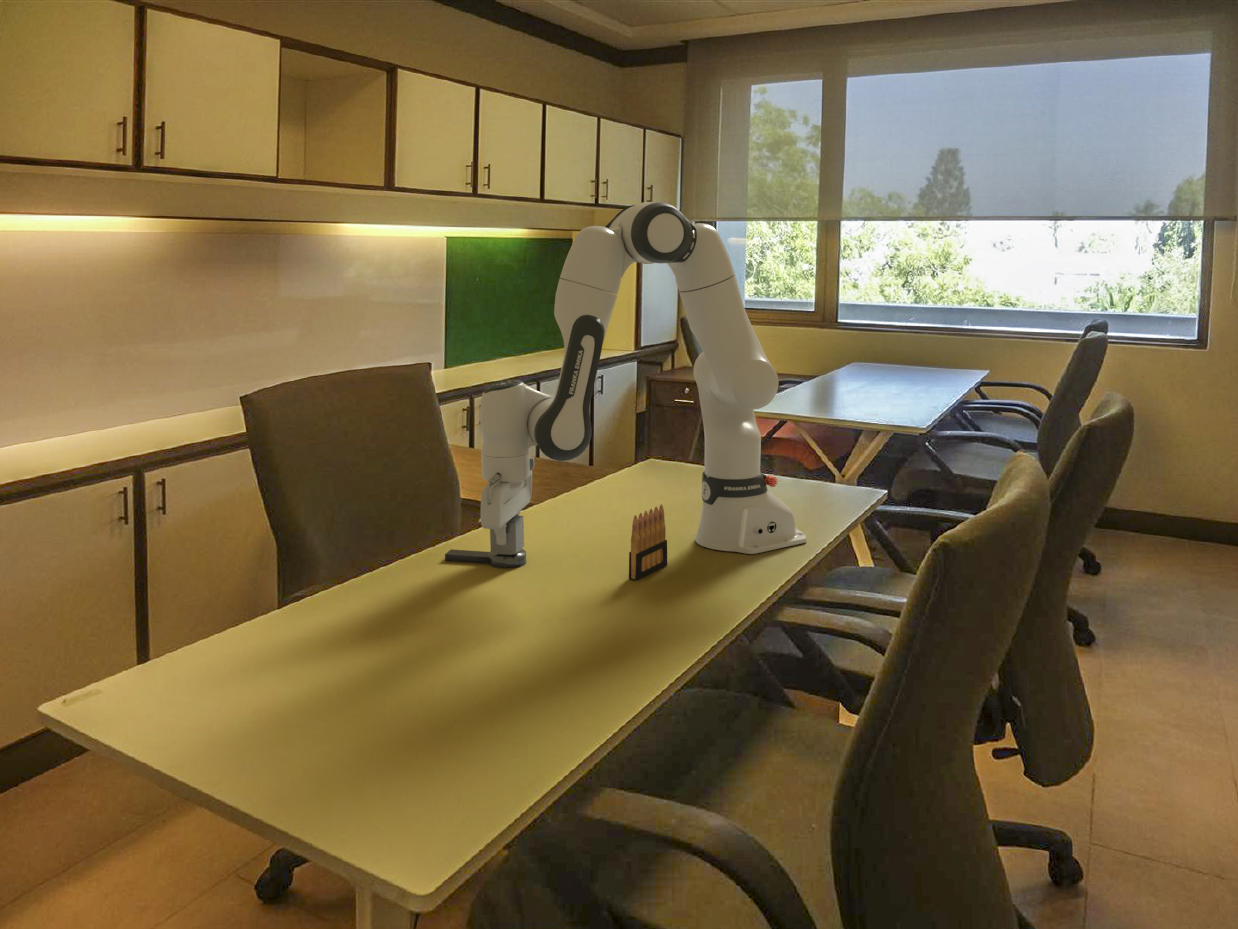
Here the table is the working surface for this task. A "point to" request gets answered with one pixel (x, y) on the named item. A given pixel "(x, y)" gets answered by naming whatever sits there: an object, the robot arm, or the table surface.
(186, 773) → the table surface
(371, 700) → the table surface
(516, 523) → the socket
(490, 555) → the ratchet
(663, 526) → the ammunition clip
